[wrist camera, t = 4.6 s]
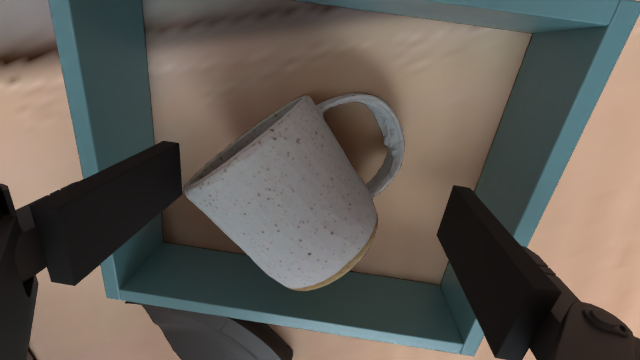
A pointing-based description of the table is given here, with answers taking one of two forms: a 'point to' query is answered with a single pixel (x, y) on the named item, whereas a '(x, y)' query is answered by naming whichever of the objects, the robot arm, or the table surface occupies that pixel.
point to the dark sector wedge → (216, 336)
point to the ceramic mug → (298, 192)
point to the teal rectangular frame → (352, 288)
